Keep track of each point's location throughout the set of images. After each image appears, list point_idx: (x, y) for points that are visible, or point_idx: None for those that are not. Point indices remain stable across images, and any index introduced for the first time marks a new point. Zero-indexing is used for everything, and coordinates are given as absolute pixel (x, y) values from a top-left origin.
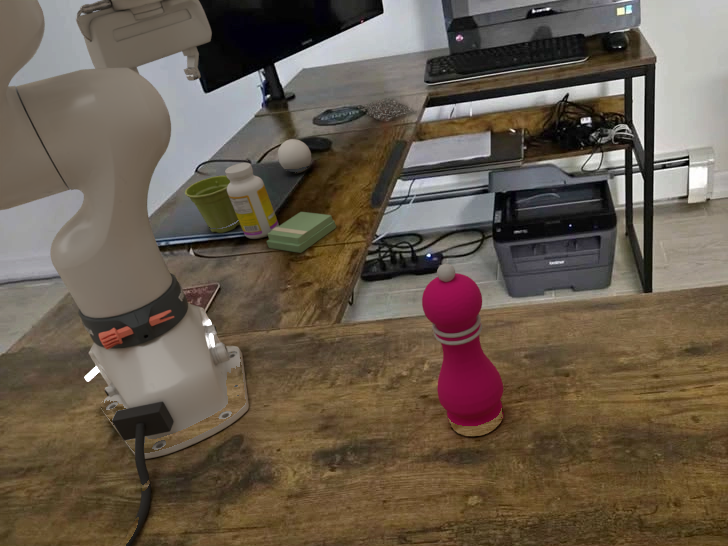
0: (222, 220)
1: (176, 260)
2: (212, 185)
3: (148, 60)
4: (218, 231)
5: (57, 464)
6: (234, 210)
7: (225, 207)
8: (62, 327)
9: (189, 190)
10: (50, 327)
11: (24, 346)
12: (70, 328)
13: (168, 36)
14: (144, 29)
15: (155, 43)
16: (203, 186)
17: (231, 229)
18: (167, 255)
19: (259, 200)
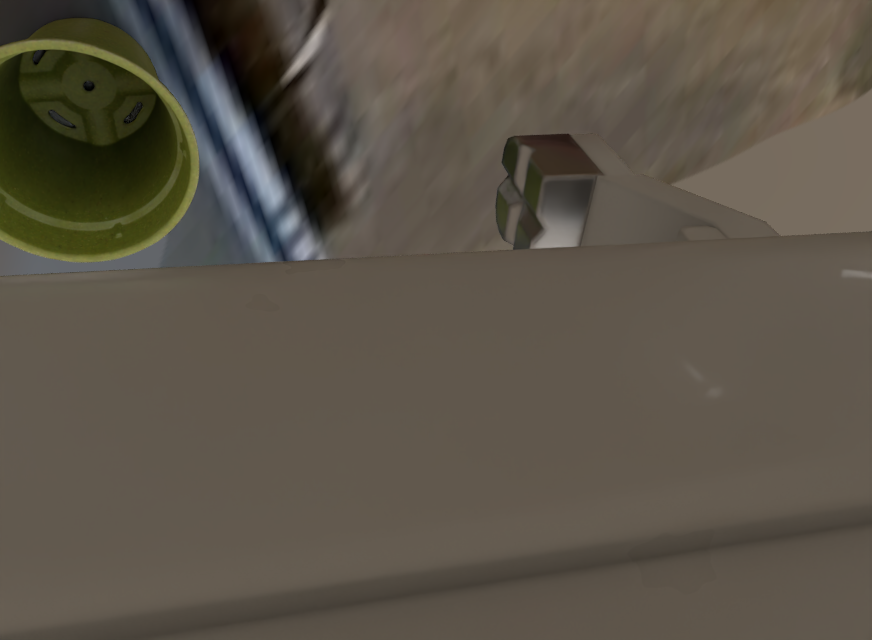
0: (128, 44)
1: (373, 59)
2: (19, 215)
3: (598, 248)
4: (151, 62)
5: None
6: (52, 32)
7: (94, 40)
8: (757, 76)
9: (140, 237)
10: (755, 114)
11: (834, 97)
12: (763, 45)
13: (68, 446)
14: (610, 620)
15: (429, 382)
16: (58, 235)
17: (106, 23)
18: (352, 130)
19: None
